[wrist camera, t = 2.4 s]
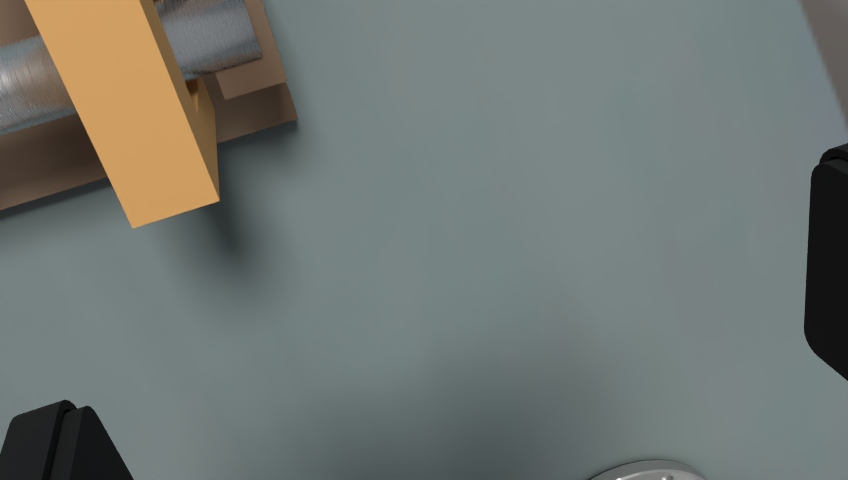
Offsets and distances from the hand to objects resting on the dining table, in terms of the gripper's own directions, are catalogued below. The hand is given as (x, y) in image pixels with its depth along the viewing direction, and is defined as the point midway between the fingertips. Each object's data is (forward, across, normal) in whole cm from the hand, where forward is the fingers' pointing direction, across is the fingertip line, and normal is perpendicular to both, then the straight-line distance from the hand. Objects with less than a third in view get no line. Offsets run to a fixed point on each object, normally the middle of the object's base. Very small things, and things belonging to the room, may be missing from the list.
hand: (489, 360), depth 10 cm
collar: (+21, +5, -1) cm, 22 cm away
